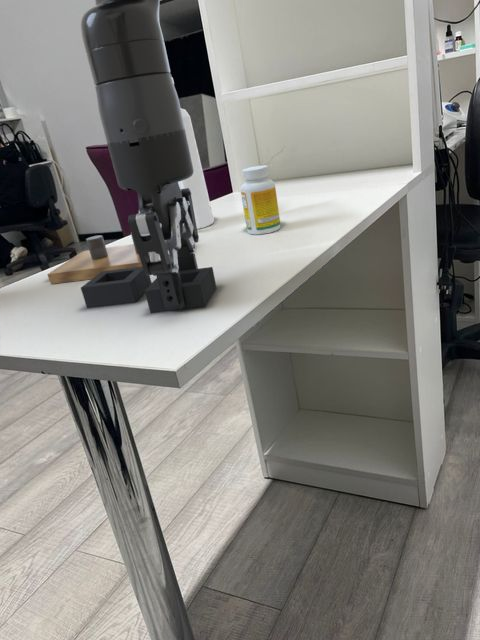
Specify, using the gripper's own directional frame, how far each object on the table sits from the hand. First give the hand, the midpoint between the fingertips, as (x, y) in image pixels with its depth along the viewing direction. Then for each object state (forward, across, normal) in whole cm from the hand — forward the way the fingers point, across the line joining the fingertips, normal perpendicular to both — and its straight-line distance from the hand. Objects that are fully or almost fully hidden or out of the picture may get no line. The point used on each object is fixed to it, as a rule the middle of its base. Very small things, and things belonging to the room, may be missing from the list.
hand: (184, 296), depth 58 cm
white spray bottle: (+1, -41, -9) cm, 42 cm away
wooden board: (+1, -21, -15) cm, 26 cm away
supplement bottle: (+1, -31, +5) cm, 31 cm away
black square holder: (+1, 0, 0) cm, 1 cm away
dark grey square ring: (+1, -4, -9) cm, 10 cm away
